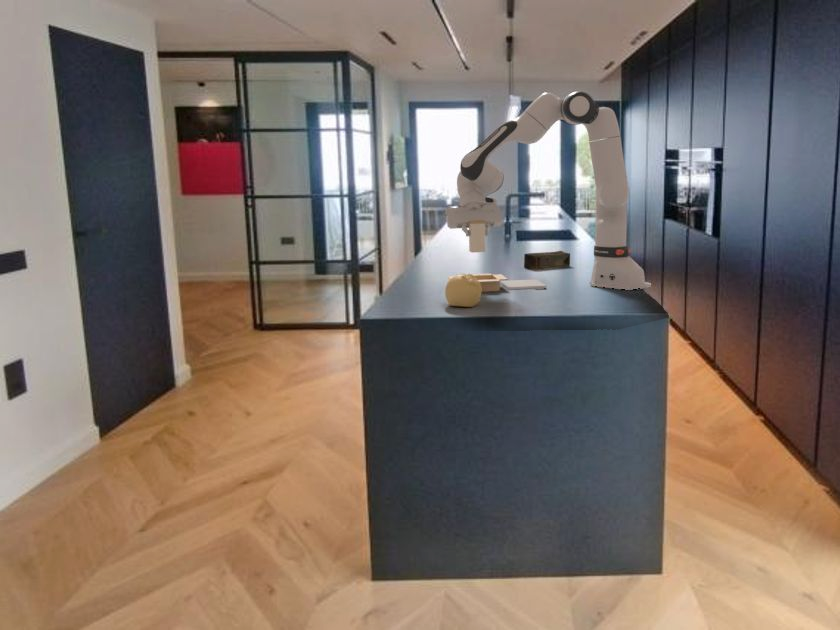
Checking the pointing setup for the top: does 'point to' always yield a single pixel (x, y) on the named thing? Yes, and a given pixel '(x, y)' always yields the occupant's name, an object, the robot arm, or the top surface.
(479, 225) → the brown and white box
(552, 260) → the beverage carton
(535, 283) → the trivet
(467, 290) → the sculpture
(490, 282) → the carton
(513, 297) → the top surface
